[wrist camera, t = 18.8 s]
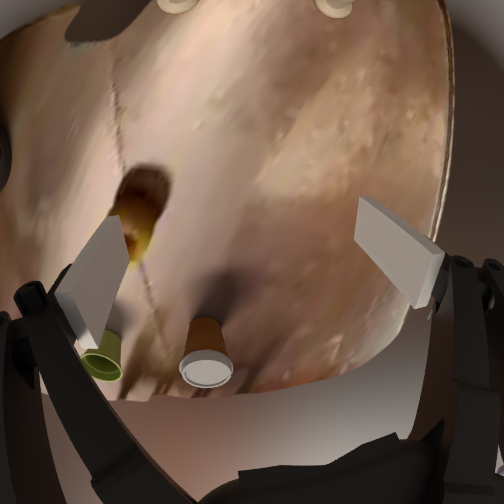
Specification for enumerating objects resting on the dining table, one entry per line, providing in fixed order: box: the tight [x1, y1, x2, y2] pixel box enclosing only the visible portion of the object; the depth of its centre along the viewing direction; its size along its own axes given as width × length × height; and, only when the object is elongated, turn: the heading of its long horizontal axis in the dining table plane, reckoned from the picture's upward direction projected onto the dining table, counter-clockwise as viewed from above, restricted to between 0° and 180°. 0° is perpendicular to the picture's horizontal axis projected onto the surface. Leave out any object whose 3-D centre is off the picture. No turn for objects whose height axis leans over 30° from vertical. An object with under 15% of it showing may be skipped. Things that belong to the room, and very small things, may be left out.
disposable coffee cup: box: [179, 317, 233, 388], centre depth 51 cm, size 10×10×12 cm
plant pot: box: [80, 329, 123, 382], centre depth 51 cm, size 9×9×9 cm
